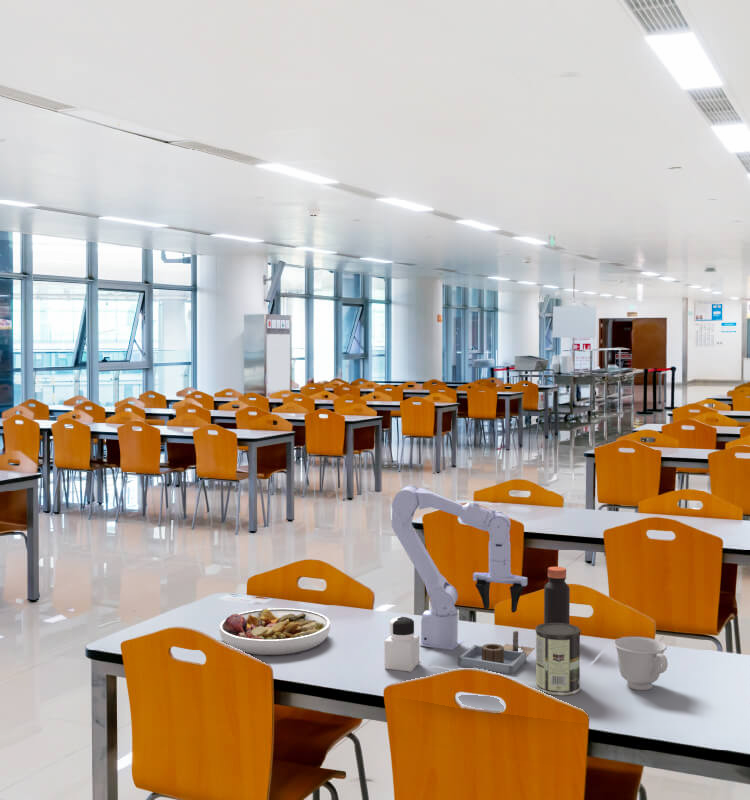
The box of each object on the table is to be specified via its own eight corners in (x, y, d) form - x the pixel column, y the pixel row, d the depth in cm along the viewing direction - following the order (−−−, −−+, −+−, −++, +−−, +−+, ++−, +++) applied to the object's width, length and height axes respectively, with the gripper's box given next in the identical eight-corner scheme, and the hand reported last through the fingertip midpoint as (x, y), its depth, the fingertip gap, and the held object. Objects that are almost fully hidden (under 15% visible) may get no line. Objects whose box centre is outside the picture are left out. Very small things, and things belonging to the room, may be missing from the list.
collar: (479, 664, 229) (479, 648, 229) (486, 658, 233) (486, 642, 233) (499, 667, 226) (499, 651, 226) (506, 661, 231) (506, 645, 231)
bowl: (314, 621, 269) (314, 594, 269) (343, 652, 241) (343, 622, 240) (212, 631, 260) (212, 603, 259) (229, 664, 231) (229, 634, 231)
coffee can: (566, 678, 220) (566, 620, 220) (588, 693, 211) (588, 633, 210) (527, 682, 217) (528, 624, 217) (547, 698, 208) (548, 637, 207)
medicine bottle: (419, 663, 231) (419, 616, 231) (411, 672, 225) (411, 624, 224) (392, 660, 234) (392, 613, 233) (384, 669, 227) (384, 621, 226)
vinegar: (574, 643, 247) (574, 570, 246) (552, 646, 244) (553, 572, 243) (560, 636, 253) (560, 564, 252) (539, 639, 251) (539, 567, 250)
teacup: (644, 703, 204) (644, 659, 204) (602, 681, 218) (602, 640, 218) (686, 694, 209) (686, 651, 209) (642, 674, 223) (643, 633, 222)
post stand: (495, 654, 238) (495, 633, 238) (505, 645, 245) (506, 625, 245) (525, 659, 234) (525, 637, 234) (534, 650, 241) (535, 629, 241)
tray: (458, 667, 228) (458, 657, 228) (474, 654, 238) (474, 644, 238) (511, 676, 222) (512, 666, 222) (526, 662, 231) (526, 652, 231)
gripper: (530, 558, 242) (531, 609, 242) (479, 553, 248) (479, 603, 249) (522, 563, 235) (522, 615, 236) (469, 559, 242) (470, 609, 243)
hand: (500, 609), depth 242 cm, fingers open, 7 cm apart
